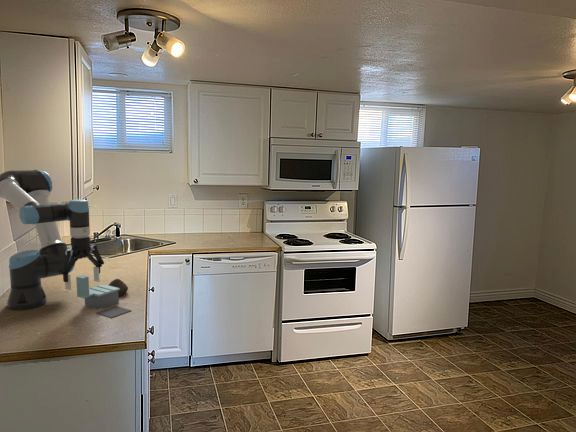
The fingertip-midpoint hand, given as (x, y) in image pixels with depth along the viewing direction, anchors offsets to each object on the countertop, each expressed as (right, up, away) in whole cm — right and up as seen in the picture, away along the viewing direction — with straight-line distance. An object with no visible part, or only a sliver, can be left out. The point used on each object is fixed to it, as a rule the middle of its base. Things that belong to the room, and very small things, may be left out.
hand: (83, 285), depth 191 cm
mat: (+13, -12, 0) cm, 18 cm away
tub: (+4, -10, +9) cm, 14 cm away
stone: (+6, -8, +23) cm, 25 cm away
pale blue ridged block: (+3, -4, +6) cm, 8 cm away
